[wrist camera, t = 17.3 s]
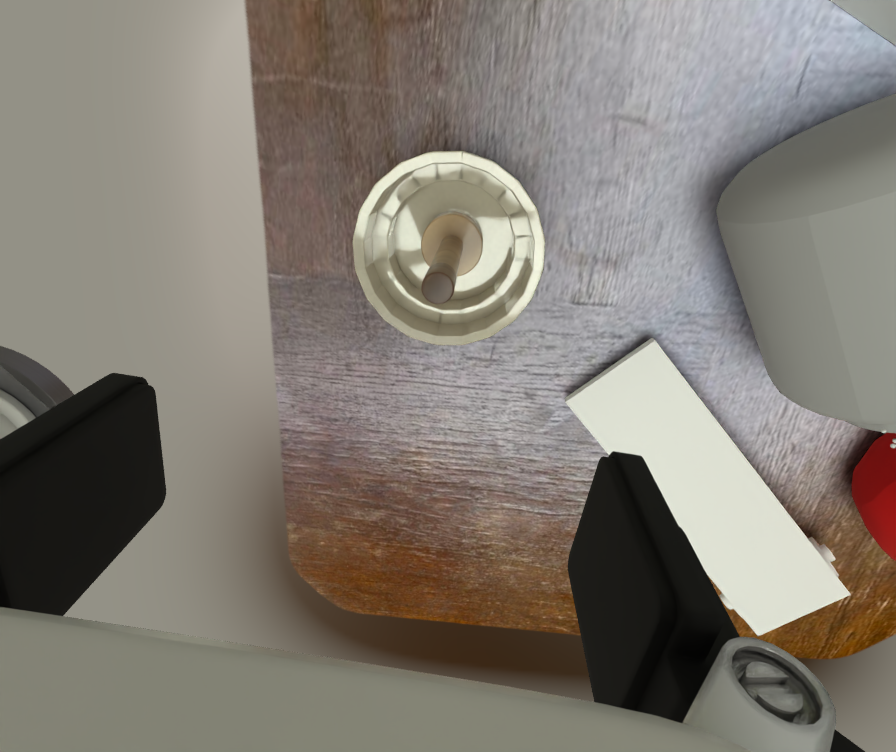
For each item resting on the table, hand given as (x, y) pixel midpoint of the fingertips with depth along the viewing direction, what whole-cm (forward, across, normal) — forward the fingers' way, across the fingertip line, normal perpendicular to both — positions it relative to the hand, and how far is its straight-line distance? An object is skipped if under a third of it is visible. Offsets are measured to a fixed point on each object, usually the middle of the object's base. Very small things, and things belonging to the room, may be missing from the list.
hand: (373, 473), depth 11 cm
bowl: (+30, 0, 0) cm, 30 cm away
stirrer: (+30, 0, 0) cm, 30 cm away
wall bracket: (+31, -24, +17) cm, 43 cm away
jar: (+31, -30, -2) cm, 42 cm away
